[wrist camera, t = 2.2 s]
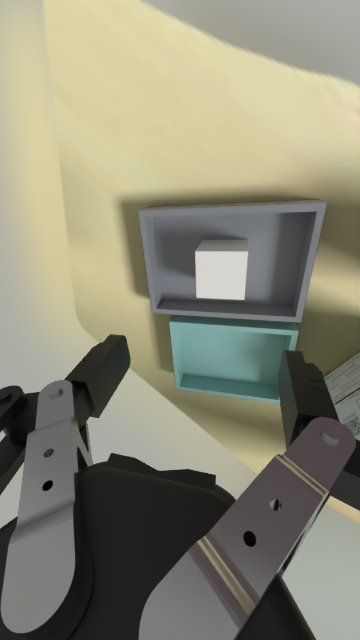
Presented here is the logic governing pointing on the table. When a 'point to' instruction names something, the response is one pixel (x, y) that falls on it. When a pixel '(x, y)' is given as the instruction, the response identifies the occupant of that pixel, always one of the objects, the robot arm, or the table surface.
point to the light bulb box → (346, 393)
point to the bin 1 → (262, 264)
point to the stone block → (221, 269)
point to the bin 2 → (230, 355)
